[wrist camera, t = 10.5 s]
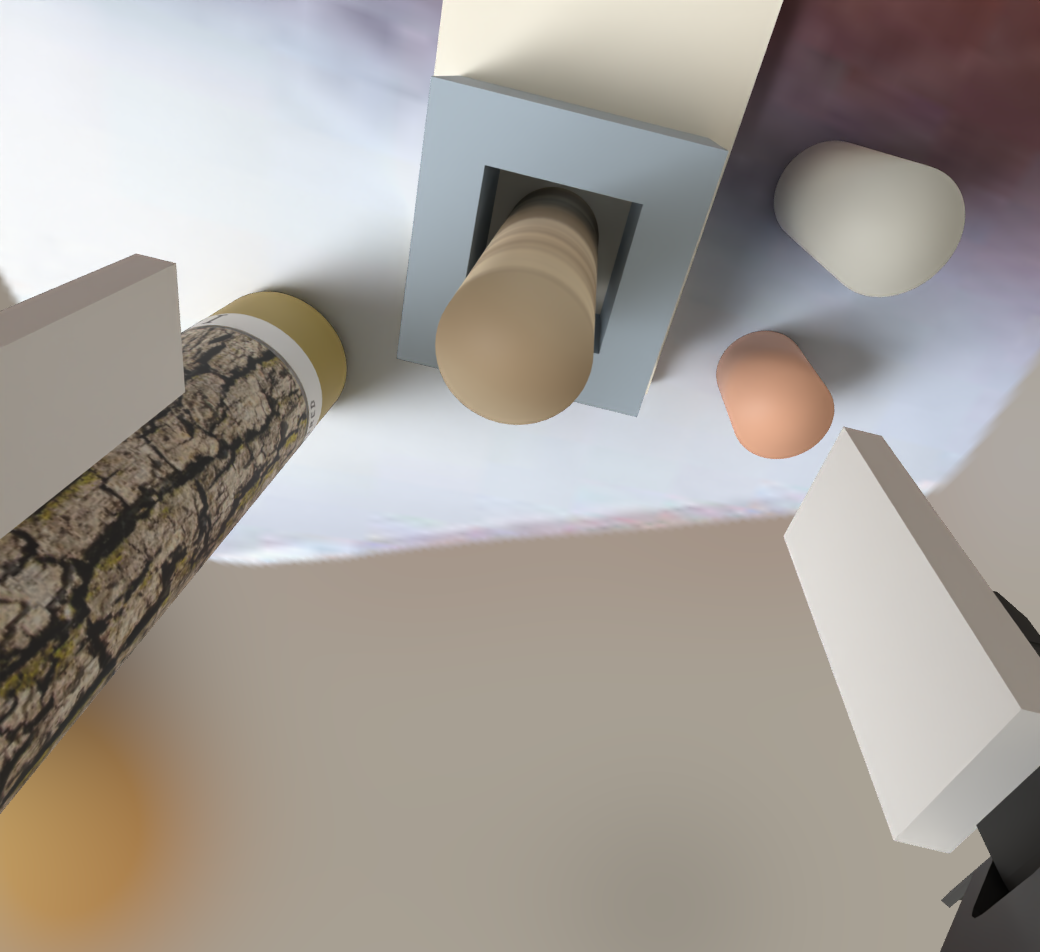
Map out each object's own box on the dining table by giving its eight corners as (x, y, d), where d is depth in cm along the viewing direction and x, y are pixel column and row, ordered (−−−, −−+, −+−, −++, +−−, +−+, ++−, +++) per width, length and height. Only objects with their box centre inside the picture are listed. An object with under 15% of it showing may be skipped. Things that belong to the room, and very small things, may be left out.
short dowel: (734, 321, 31) (755, 361, 27) (818, 342, 31) (851, 385, 27) (704, 398, 33) (718, 446, 29) (782, 417, 33) (808, 468, 29)
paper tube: (369, 326, 33) (-58, 787, 12) (329, 433, 36) (-57, 940, 15) (237, 262, 32) (-486, 636, 11) (209, 378, 36) (-382, 836, 14)
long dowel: (515, 176, 28) (448, 254, 16) (609, 199, 28) (612, 295, 16) (497, 272, 30) (425, 405, 18) (585, 293, 30) (571, 440, 18)
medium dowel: (798, 129, 27) (863, 149, 20) (894, 154, 27) (992, 182, 20) (758, 231, 29) (805, 280, 22) (847, 253, 29) (922, 309, 22)
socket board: (470, -161, 23) (431, -228, 18) (802, -75, 24) (859, -117, 18) (408, 326, 33) (370, 374, 28) (645, 384, 33) (653, 443, 28)
